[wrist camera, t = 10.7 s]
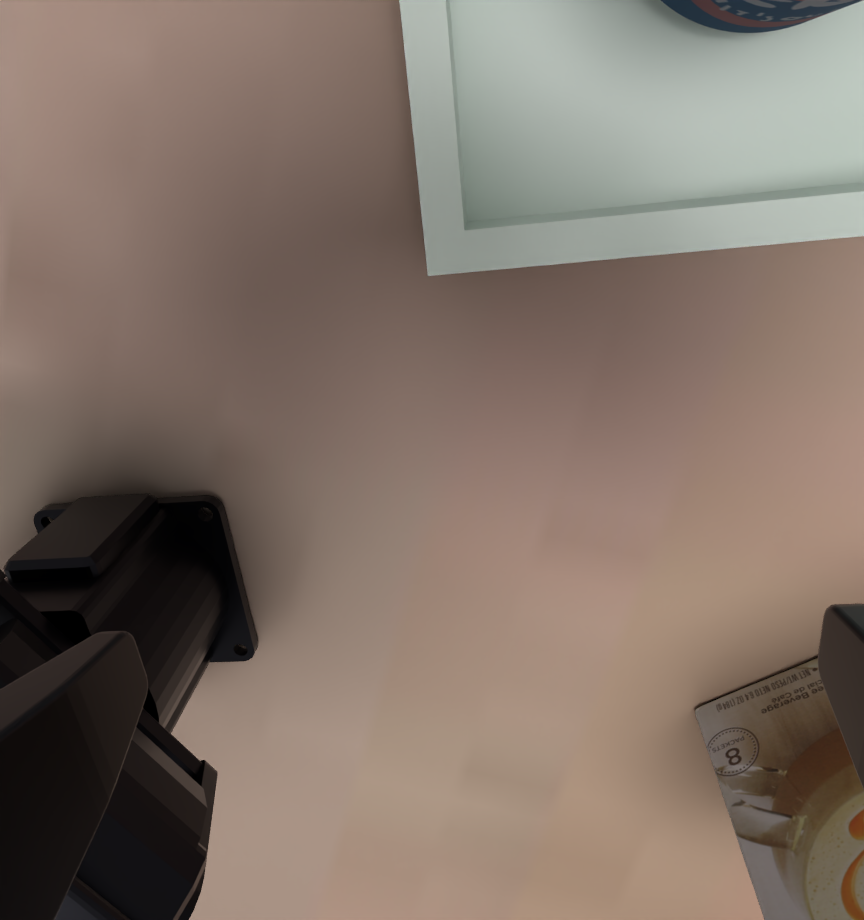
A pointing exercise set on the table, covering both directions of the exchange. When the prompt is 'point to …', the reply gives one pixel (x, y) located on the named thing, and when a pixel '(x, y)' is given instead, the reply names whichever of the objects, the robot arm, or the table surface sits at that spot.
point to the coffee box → (790, 795)
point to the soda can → (754, 13)
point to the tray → (627, 131)
